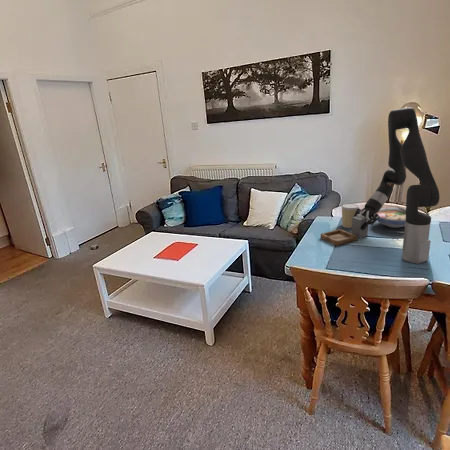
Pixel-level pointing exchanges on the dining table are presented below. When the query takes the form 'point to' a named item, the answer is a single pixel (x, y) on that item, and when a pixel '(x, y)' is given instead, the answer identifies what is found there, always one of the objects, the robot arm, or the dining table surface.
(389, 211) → the ramen bowl
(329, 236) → the tray
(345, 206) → the coffee cup
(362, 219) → the grey rectangular block
